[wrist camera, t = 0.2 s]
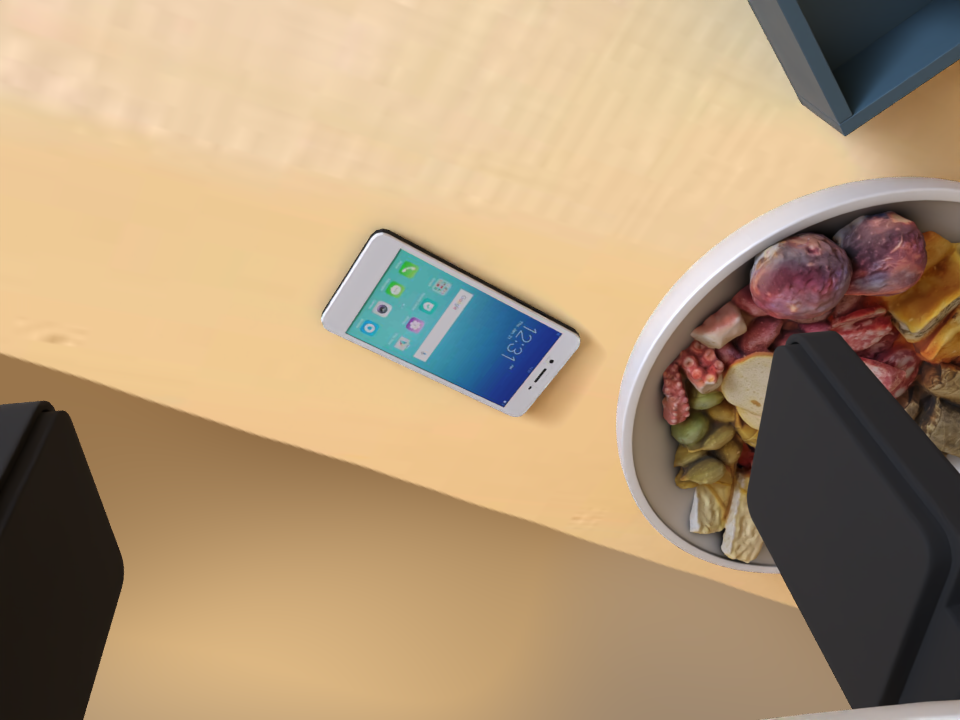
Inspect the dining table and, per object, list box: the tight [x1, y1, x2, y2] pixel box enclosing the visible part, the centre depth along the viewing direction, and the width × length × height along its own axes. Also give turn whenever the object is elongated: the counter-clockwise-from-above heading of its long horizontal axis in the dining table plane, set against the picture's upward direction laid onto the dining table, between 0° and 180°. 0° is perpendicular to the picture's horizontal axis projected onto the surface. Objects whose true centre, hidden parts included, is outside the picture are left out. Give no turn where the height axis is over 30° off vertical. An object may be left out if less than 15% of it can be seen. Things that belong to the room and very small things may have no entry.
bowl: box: [616, 177, 960, 574], centre depth 56 cm, size 30×30×8 cm
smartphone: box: [321, 229, 581, 417], centre depth 54 cm, size 8×1×15 cm
